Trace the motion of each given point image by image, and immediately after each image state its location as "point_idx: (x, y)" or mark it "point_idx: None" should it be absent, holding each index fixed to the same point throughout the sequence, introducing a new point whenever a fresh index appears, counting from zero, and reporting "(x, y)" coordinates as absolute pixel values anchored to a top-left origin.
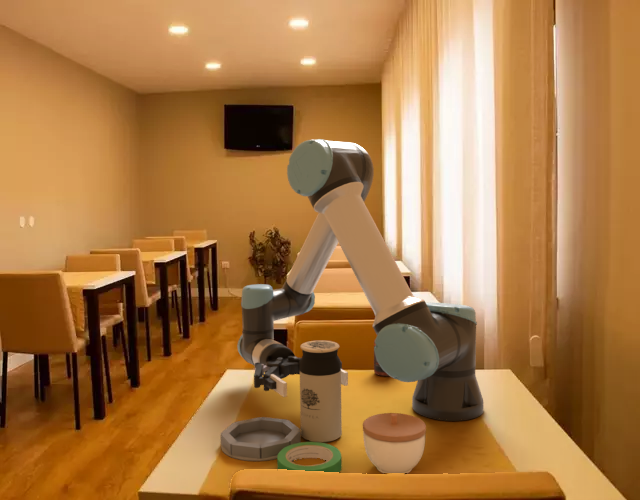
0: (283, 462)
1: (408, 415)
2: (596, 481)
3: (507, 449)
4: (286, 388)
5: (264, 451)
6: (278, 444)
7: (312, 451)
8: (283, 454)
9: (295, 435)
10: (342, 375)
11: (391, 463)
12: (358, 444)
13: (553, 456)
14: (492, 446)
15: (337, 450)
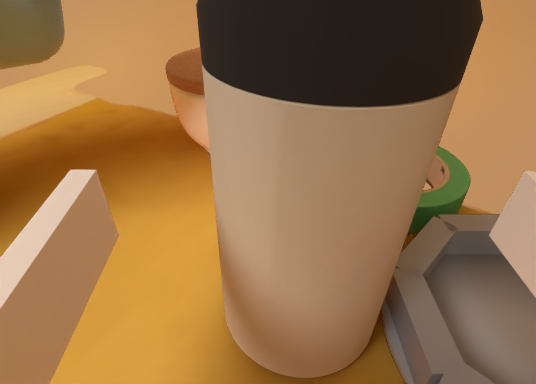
0: (454, 160)
1: (174, 66)
2: (62, 72)
3: (26, 123)
4: (511, 199)
5: None
6: (471, 215)
7: None
8: (455, 180)
9: (415, 238)
10: (91, 209)
11: None
12: None
13: (12, 100)
14: (28, 133)
15: None
